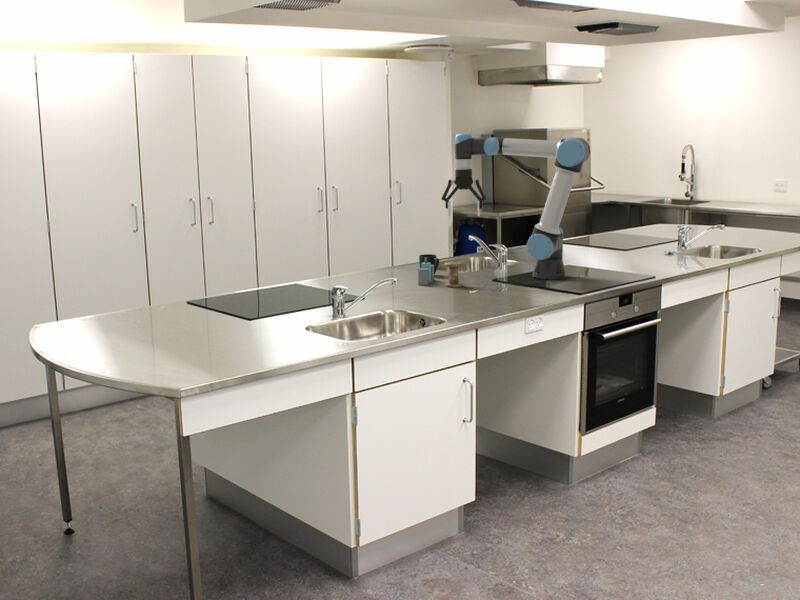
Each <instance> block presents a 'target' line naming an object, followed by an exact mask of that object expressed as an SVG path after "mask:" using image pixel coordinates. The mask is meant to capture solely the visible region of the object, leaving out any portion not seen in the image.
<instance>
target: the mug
mask: <svg viewBox="0 0 800 600" xmlns="http://www.w3.org/2000/svg"><path fill="white" fill-rule="evenodd" d="M425 258H427V263H431V265H434V275H435V274H436V272H437V270H438V268H439V265H440V259H439V258H437V254H433V253H432V254H429V253H428V254H426V253H425V254H420V255H418V263H419V269H420V268H421V264H422V263H423V262H425Z"/></svg>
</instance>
